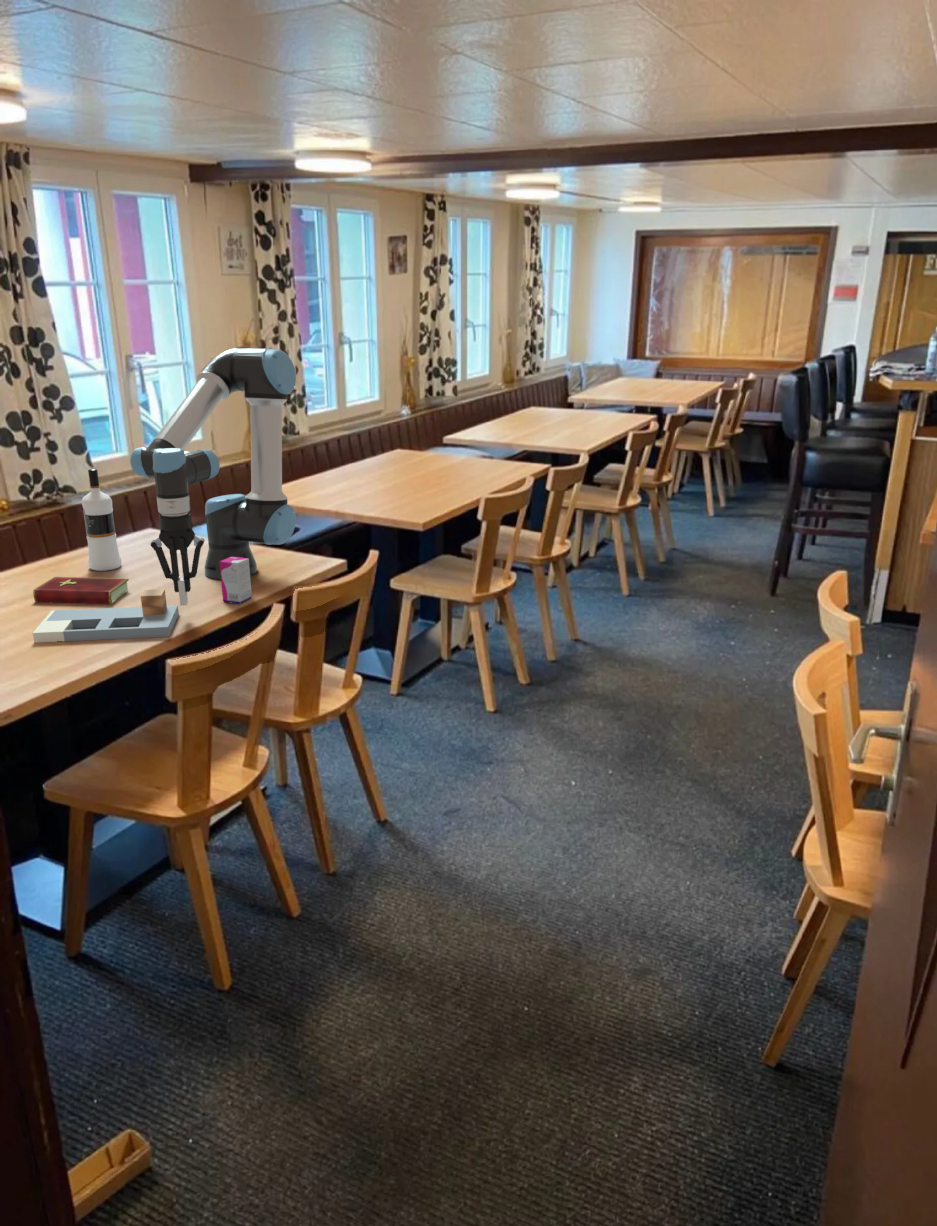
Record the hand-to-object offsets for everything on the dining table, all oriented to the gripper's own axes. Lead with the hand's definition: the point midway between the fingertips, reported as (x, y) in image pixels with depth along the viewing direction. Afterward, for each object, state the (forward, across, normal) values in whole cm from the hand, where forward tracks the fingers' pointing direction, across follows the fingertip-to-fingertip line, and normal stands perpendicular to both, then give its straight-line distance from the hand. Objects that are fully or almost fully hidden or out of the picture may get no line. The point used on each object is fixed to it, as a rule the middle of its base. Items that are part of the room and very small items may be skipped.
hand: (184, 603), depth 222 cm
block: (+2, -7, 0) cm, 7 cm away
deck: (+4, -17, -4) cm, 18 cm away
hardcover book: (+5, -30, +23) cm, 38 cm away
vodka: (+4, -30, +50) cm, 59 cm away
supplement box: (+5, +12, +14) cm, 19 cm away
